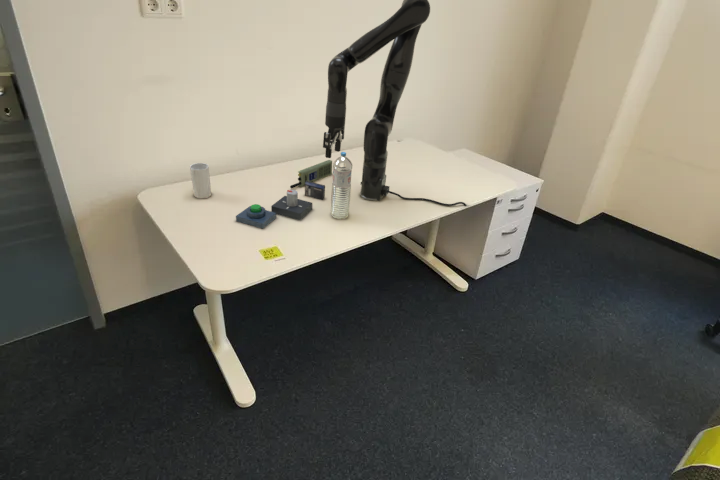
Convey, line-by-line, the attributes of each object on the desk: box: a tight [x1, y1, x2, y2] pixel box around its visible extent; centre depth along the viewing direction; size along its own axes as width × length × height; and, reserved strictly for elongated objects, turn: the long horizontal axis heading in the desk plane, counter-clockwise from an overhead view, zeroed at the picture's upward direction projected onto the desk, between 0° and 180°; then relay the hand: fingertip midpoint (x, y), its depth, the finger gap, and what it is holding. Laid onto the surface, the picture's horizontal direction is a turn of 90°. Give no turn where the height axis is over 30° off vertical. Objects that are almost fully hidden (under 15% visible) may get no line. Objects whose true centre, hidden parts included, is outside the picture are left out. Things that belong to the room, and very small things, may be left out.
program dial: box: [286, 189, 299, 207], centre depth 159 cm, size 4×4×5 cm
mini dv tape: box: [304, 181, 326, 201], centre depth 172 cm, size 8×2×6 cm, turn 68°
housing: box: [235, 205, 277, 230], centre depth 153 cm, size 11×9×4 cm
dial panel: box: [270, 195, 313, 221], centre depth 161 cm, size 12×10×3 cm
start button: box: [250, 203, 262, 213], centre depth 152 cm, size 4×4×2 cm
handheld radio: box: [289, 159, 333, 190], centre depth 184 cm, size 7×3×25 cm
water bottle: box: [330, 151, 353, 220], centre depth 156 cm, size 7×7×25 cm
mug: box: [189, 162, 212, 199], centre depth 165 cm, size 10×7×12 cm, turn 46°
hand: (332, 154), depth 168 cm, fingers open, 8 cm apart
